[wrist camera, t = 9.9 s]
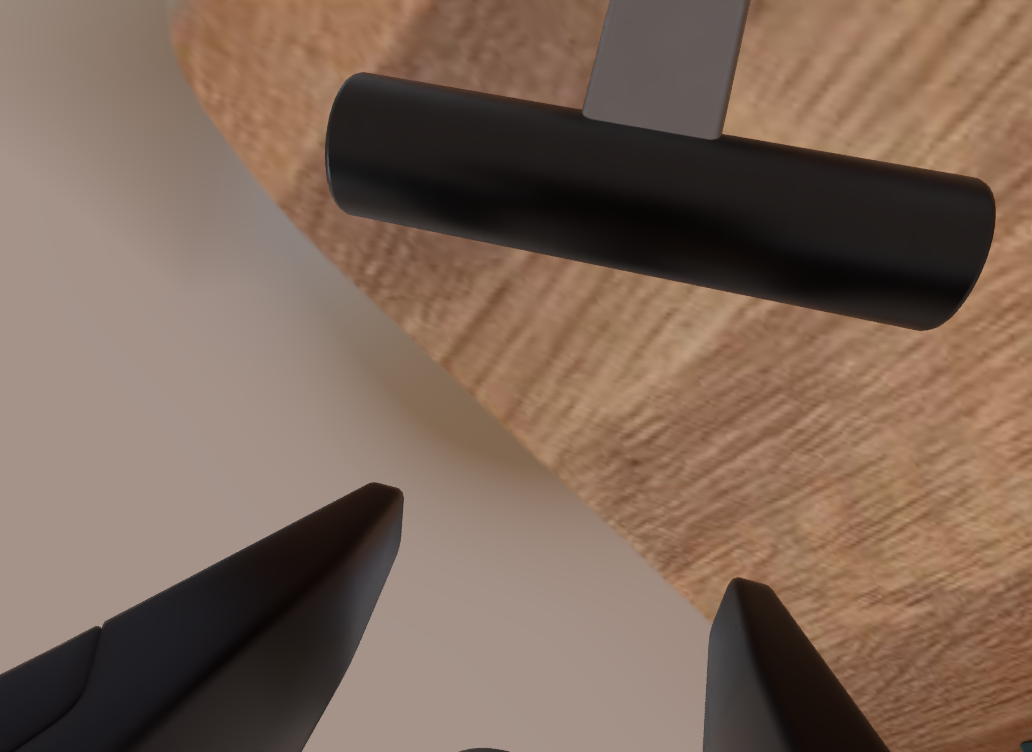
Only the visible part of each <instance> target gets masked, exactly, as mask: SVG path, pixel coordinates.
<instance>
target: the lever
mask: <svg viewBox="0 0 1032 752" xmlns="http://www.w3.org/2000/svg"><path fill="white" fill-rule="evenodd" d="M749 5H750V0H610V3H609V7H608V10H607V14H606V18H605V22H604V26H603V30H602V34H601V38H600V42H599V46H598V50H597V54H596V58H595V62H594V66H593V69H592V73H591V77H590V81H589V85H588V89H587V93H586V97H585V101H584V105H583V109H582V110H580V109H574V108H569V107H563V106H557V105H551V104H545V103H540V102H534V101H528V100H522V99H516V98H511V97H505V96H499V95H493V94H488V93H482V92H476V91H470V90H464V89H459V88H453V87H447V86H441V85H435V84H430V83H424V82H418V81H412V80H406V79H401V78H395V77H389V76H383V75H377V74H372V73H365V72H362V73H358V74H354V75H352V76H351V77H349V78H348V79H347V80H346V81H345V82H344V84H343V85H342V86H341V88H340V90H339V91H338V94H337V96H336V98H335V100H334V103H333V106H332V109H331V113H330V116H329V121H328V126H327V133H326V143H325V165H326V175H327V181H328V185H329V189H330V192H331V195H332V197H333V199H334V201H335V203H336V204H337V206H338V207H339V208H340V209H342V210H343V211H344V212H346V213H347V214H350V215H354V216H359V217H364V218H369V219H374V220H379V221H383V222H388V223H393V224H398V225H403V226H408V227H413V228H418V229H423V230H427V231H432V232H437V233H442V234H447V235H452V236H457V237H462V238H467V239H472V240H476V241H481V242H486V243H491V244H496V245H501V246H506V247H511V248H516V249H521V250H525V251H530V252H535V253H540V254H545V255H550V256H555V257H560V258H565V259H570V260H574V261H579V262H584V263H589V264H594V265H599V266H604V267H609V268H614V269H619V270H623V271H628V272H633V273H638V274H643V275H648V276H653V277H658V278H663V279H668V280H672V281H677V282H682V283H687V284H692V285H697V286H702V287H707V288H712V289H717V290H721V291H726V292H731V293H736V294H741V295H746V296H751V297H756V298H761V299H766V300H770V301H775V302H780V303H785V304H790V305H795V306H800V307H805V308H810V309H815V310H819V311H824V312H829V313H834V314H839V315H844V316H849V317H854V318H859V319H864V320H868V321H873V322H878V323H883V324H888V325H893V326H898V327H903V328H908V329H913V330H918V331H924V330H930V329H934V328H937V327H939V326H940V325H942V324H944V323H945V322H946V321H948V320H949V319H950V318H951V317H952V316H953V315H954V314H955V313H956V312H957V311H958V309H959V308H960V307H961V306H962V304H963V303H964V302H965V300H966V299H967V297H968V296H969V294H970V293H971V291H972V289H973V288H974V286H975V284H976V282H977V280H978V278H979V276H980V274H981V272H982V269H983V267H984V264H985V262H986V259H987V256H988V253H989V250H990V247H991V243H992V239H993V234H994V228H995V218H996V207H995V200H994V196H993V193H992V191H991V189H990V187H989V186H988V185H987V184H986V183H984V182H983V181H981V180H980V179H978V178H974V177H969V176H963V175H957V174H951V173H945V172H940V171H934V170H928V169H922V168H916V167H911V166H905V165H899V164H893V163H887V162H882V161H876V160H870V159H864V158H858V157H853V156H847V155H841V154H835V153H829V152H824V151H818V150H812V149H806V148H800V147H795V146H789V145H783V144H777V143H771V142H766V141H760V140H754V139H748V138H743V137H737V136H731V135H725V134H722V131H723V127H724V122H725V117H726V113H727V108H728V103H729V99H730V94H731V89H732V85H733V80H734V75H735V70H736V66H737V61H738V56H739V52H740V47H741V42H742V38H743V33H744V28H745V24H746V19H747V14H748V10H749Z"/></svg>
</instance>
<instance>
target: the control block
mask: <svg viewBox="0 0 1032 752" xmlns="http://www.w3.org/2000/svg"><path fill="white" fill-rule="evenodd" d="M1021 749H1022V751H1023V752H1032V742H1028V743H1022V744H1021Z"/></svg>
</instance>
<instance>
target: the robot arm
mask: <svg viewBox="0 0 1032 752" xmlns="http://www.w3.org/2000/svg"><path fill="white" fill-rule="evenodd" d="M403 502H404V497H403V492H402V491H401V490H400V489H399V488H396V487H392V486H388V485H384V484H380V483H375V482H374V483H369V484H367V485H365V486H363V487H361V488H359V489H357V490H355V491H353V492H351V493H349V494H348V495H346V496H344V497H342V498H340V499H338V500H336V501H334V502H332V503H331V504H328V505H327V506H325V507H323V508H321V509H319V510H317V511H315V512H313V513H311V514H309V515H307V516H306V517H304V518H302V519H300V520H298V521H296V522H294V523H292V524H290V525H289V526H286V527H284V528H283V529H281V530H279V531H277V532H275V533H273V534H271V535H269V536H267V537H265V538H263V539H262V540H260V541H258V542H256V543H254V544H252V545H250V546H248V547H246V548H244V549H242V550H240V551H239V552H237V553H235V554H233V555H231V556H229V557H227V558H225V559H223V560H221V561H220V562H218V563H216V564H214V565H212V566H210V567H208V568H206V569H204V570H202V571H201V572H199V573H197V574H195V575H193V576H191V577H189V578H187V579H185V580H183V581H181V582H179V583H177V584H176V585H174V586H172V587H170V588H168V589H166V590H164V591H162V592H160V593H158V594H156V595H155V596H153V597H151V598H149V599H147V600H145V601H143V602H141V603H139V604H137V605H135V606H133V607H132V608H130V609H128V610H126V611H124V612H122V613H120V614H118V615H116V616H114V617H113V618H111V619H109V620H107V621H105V622H104V624H103V626H102V628H101V627H99V626H95V627H93V628H91V629H89V630H87V631H85V632H83V633H81V634H79V635H78V636H76V637H74V638H72V639H70V640H68V641H66V642H64V643H62V644H60V645H58V646H56V647H54V648H52V649H50V650H48V651H46V652H44V653H42V654H40V655H39V656H36V657H34V658H33V659H30V660H28V661H26V662H25V663H22V664H20V665H18V666H16V667H14V668H12V669H10V670H8V671H6V672H4V673H2V674H1V675H0V752H302V750H303V748H304V746H305V744H306V743H307V741H308V739H309V738H310V736H311V734H312V732H313V730H314V728H315V727H316V725H317V723H318V722H319V720H320V718H321V716H322V714H323V713H324V711H325V709H326V707H327V705H328V704H329V702H330V700H331V698H332V697H333V695H334V693H335V691H336V689H337V688H338V686H339V684H340V682H341V680H342V679H343V677H344V675H345V673H346V671H347V669H348V667H349V665H350V663H351V661H352V659H353V657H354V654H355V652H356V650H357V648H358V645H359V643H360V641H361V638H362V636H363V634H364V631H365V629H366V626H367V624H368V622H369V620H370V617H371V615H372V612H373V610H374V608H375V605H376V603H377V600H378V598H379V596H380V594H381V591H382V589H383V586H384V584H385V582H386V579H387V577H388V575H389V572H390V570H391V567H392V565H393V563H394V560H395V558H396V556H397V553H398V549H399V546H400V541H401V529H402V516H403ZM703 752H890V750H889V749H888V748H887V746H886V745H885V744H884V742H883V741H882V739H881V738H880V737H879V735H878V734H877V733H876V731H875V730H874V728H873V727H872V726H871V724H870V723H869V722H868V720H867V719H866V717H865V716H864V715H863V713H862V712H861V711H860V709H859V708H858V706H857V705H856V704H855V702H854V701H853V700H852V698H851V697H850V695H849V694H848V693H847V691H846V690H845V689H844V687H843V686H842V684H841V683H840V682H839V680H838V679H837V678H836V676H835V675H834V674H833V672H832V671H831V669H830V668H829V667H828V665H827V664H826V663H825V661H824V660H823V658H822V657H821V656H820V654H819V653H818V652H817V650H816V649H815V647H814V646H813V645H812V643H811V642H810V641H809V639H808V638H807V636H806V635H805V634H804V632H803V631H802V630H801V628H800V627H799V625H798V624H797V623H796V621H795V620H794V619H793V617H792V616H791V615H790V613H789V612H788V610H787V609H786V608H785V606H784V605H783V604H782V602H781V601H780V599H779V598H778V597H777V595H776V594H775V593H774V591H773V590H772V589H771V588H770V587H769V586H768V585H765V584H763V583H759V582H755V581H751V580H747V579H744V578H740V577H737V578H734V579H732V580H731V582H730V583H729V585H728V587H727V589H726V592H725V594H724V597H723V599H722V602H721V604H720V607H719V609H718V612H717V614H716V617H715V619H714V621H713V624H712V628H711V632H710V638H709V649H708V667H707V684H706V702H705V719H704V737H703Z"/></svg>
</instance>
